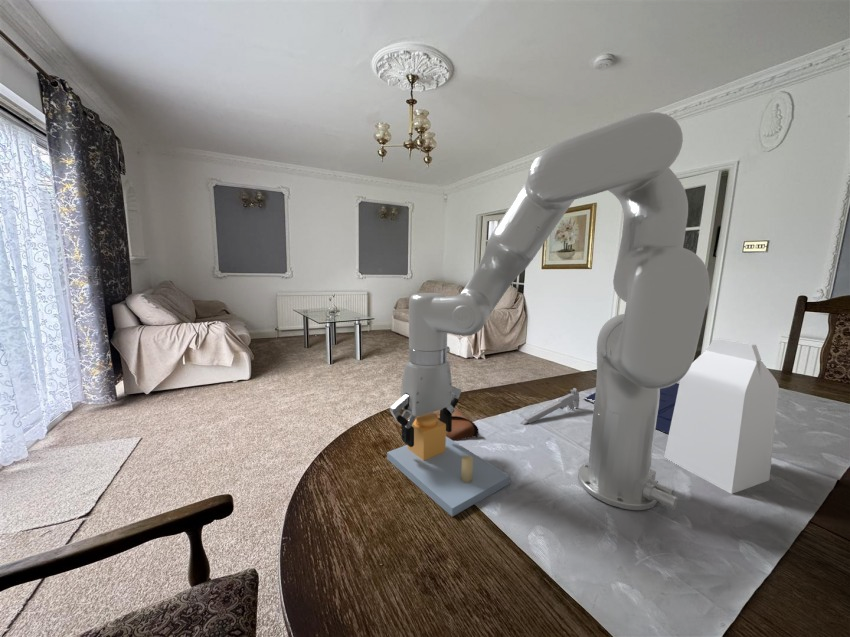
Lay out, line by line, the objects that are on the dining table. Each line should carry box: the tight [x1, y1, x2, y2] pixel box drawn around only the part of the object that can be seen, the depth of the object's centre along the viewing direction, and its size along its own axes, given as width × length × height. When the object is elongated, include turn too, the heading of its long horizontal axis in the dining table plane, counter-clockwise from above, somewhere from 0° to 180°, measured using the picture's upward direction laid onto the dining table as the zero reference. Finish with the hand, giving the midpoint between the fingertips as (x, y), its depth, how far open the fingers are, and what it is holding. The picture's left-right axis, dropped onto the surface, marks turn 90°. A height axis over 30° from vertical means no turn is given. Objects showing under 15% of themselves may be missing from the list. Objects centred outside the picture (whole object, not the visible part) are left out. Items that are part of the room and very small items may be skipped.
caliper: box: [520, 387, 580, 425], centre depth 90 cm, size 21×1×6 cm, turn 119°
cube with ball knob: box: [408, 412, 446, 461], centre depth 70 cm, size 6×6×7 cm
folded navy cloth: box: [585, 382, 679, 435], centre depth 98 cm, size 24×30×4 cm
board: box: [386, 437, 511, 517], centre depth 66 cm, size 20×14×6 cm
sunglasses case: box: [433, 407, 479, 442], centre depth 86 cm, size 18×7×7 cm, turn 24°
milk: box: [663, 337, 780, 495], centre depth 66 cm, size 12×12×26 cm
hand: (427, 436), depth 70 cm, fingers open, 9 cm apart
